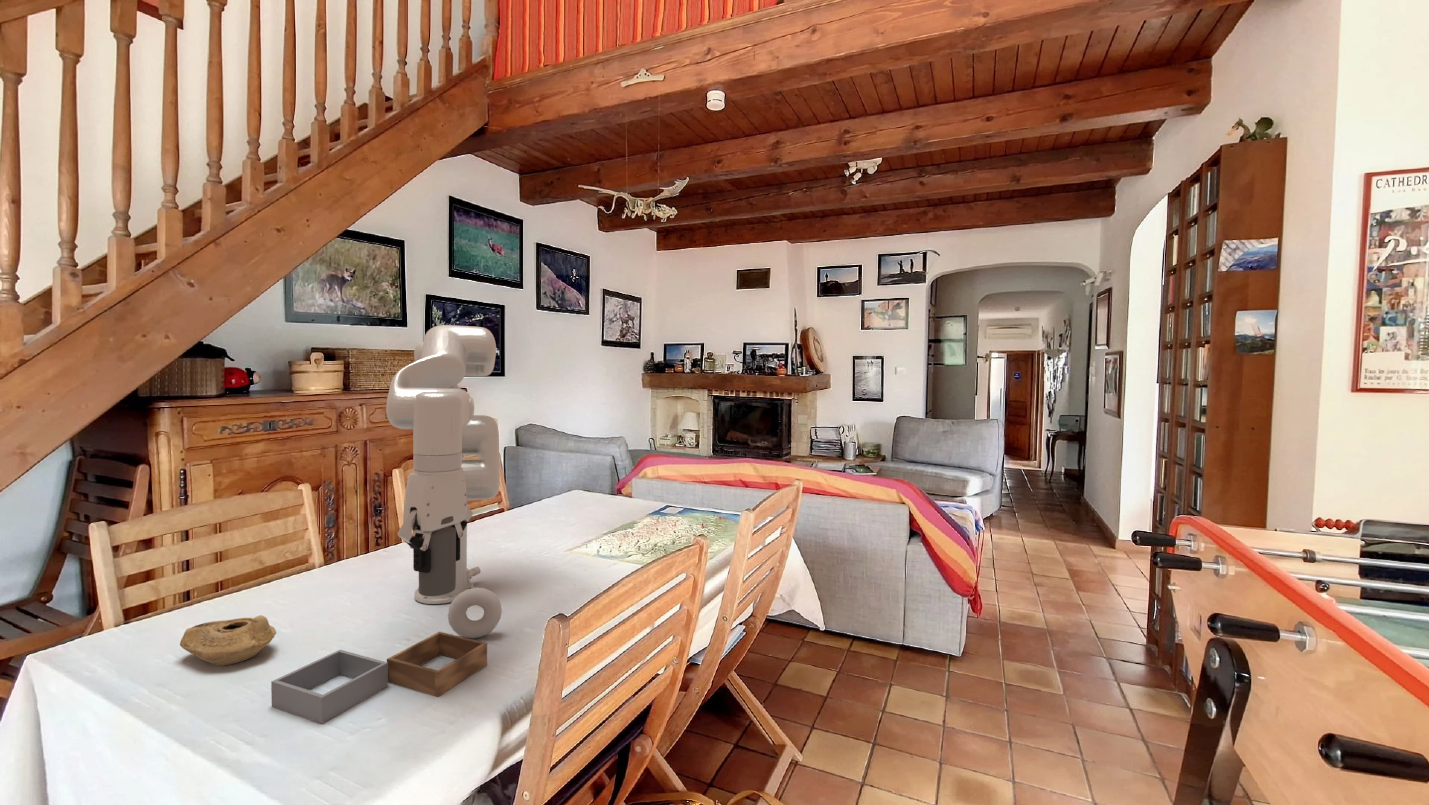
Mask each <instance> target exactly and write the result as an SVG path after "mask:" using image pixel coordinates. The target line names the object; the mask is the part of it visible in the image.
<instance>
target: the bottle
mask: <svg viewBox="0 0 1429 805" xmlns="http://www.w3.org/2000/svg"><path fill="white" fill-rule="evenodd" d="M453 520H454V519H453V516H451V517H447V518H444V519H442V521H441V525H442V524H447V523H450V522H452V521H453ZM422 537H423V534H421V536H420V540H421V541H422ZM427 549H430V550H431V571H430V572H428V573H423V572H418V588H419V593H420V594H421V595H424V596H440V595H444V594H448V593H450V592H452V591H453V590H455V587H456V529H455V528H454V527H452V526H447V527H444V528H442V529H440V530H437V531H434V532H432V534H431V538H430V541H429V545H428V548H427Z"/></svg>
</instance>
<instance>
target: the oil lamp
mask: <svg viewBox="0 0 1429 805" xmlns="http://www.w3.org/2000/svg"><path fill="white" fill-rule="evenodd" d="M276 635H277V630H276V629H275V627H274V626H272V625H271V624H270V623H269V619H268V618H267V617H266V616H264V615H262V614H261V615H256V616H255V617H239V618H234V619H233V618H232V619H231V618H230V619H224V620H215V621H213V620H212V621H208V622H204V623H200V624H197V625H194V626H192V627H189V628H186V630H185V631H184V633H183V636H182V637H181V639H180V641H179V646H180V648H182V649H183V650H185V651H187V652H189V653H190V654H192V655H194V656H196V657H197V658H198V659H201V660H202V661H205V662H206V663H207V662H208V663H210V664H211V665H216V666H229V665H233V664H237V663H241V662H244V661H247V660H249V659H251V658H253V657H255V656H256V655H257V654H258V652H260V651H261V650H262V649H263V648H265V647H266V646H267V645H269V644H270V643H271V642H272V640H273V639H274V638H275V636H276Z"/></svg>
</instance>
